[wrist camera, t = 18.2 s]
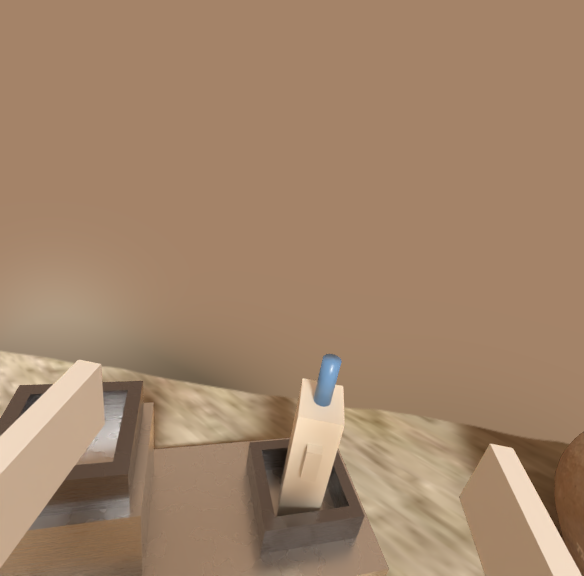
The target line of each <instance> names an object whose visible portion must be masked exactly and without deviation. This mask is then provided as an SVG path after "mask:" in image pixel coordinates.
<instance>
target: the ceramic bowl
mask: <svg viewBox="0 0 584 576" xmlns="http://www.w3.org/2000/svg"><path fill="white" fill-rule="evenodd" d="M554 487H555V504H556V510H557V514H558V519H559V524H560V528H561V532H562V537H563V541H564V543H565V545H566V547H567V549H568V551H569V553H570V555H571V556H572V558H573V560H574V562H575V564H576V566H577V567H578V569H579V571H580V573H581V575H582V576H584V432H583V433H581V434H580V435H579V436H578V437H576V438H575V439H574V440H573V441H572V442H571V444H570V445H569V446H568V447H567V449H566V450H565V451H564V452H563V454H562V456H561V458H560V460H559V463H558V466H557V469H556V472H555V485H554Z"/></svg>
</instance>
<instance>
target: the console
mask: <svg viewBox="0 0 584 576" xmlns="http://www.w3.org/2000/svg"><path fill="white" fill-rule="evenodd" d="M52 385H53V384H44V385H20V386H19V387H18V389H17V391H16V393H15V394H14V396H13V398H12V399H11V401H10V403H9V405H8V406H7V408H6V410H5V411H4V413H3V415H2V417H1V418H0V436H1V435H2V434H3V433H4V432H5V431H6V430H7V429H8V428H9V427H10V426H11V425H12V424H13V423H14V422H15V421H16V420H17V419H18V418H19V417H20V416H21V415H22V414H23V413H24V412H25V411H27V410H28V409H29V408H30V407H31V406H32V405H33V404H34V403H35V402H36V401H37V400H38V399H39V398H40V397H41V396H42V395H43V394H44V393H45V392H46V391H47V390H48V389H49V388H50V387H51V386H52ZM102 386H103V401H104V417H105V425H104V426H103V427H102V429H101V430H100V432H99V433H98V434H97V436H96V437H95V438H94V440H93V441H92V443H91V444H90V445H89V447H88V448H87V449H86V451H85V452H84V454H83V455H82V456H81V458H80V459H79V460H78V462H77V463H76V465H75V466H74V467H73V469H72V470H71V471H70V473H69V474H68V476H67V477H66V478H65V480H64V481H63V483H62V484H61V485H60V487H59V488H58V489H57V491H56V492H55V494H54V495H53V496H52V498H51V499H50V500H49V502H48V503H47V505H46V506H45V507H44V509H43V510H42V511H41V513H40V514H39V516H38V517H37V518H36V520H35V521H34V522H33V524H32V525H31V527H30V528H29V529H28V531H27V532H26V533H25V535H24V536H23V538H22V539H21V540H20V542H19V543H18V544H17V546H16V547H15V549H14V550H13V551H12V553H11V554H10V555H9V557H8V558H7V560H6V561H5V562H4V564H3V565H2V566H1V568H0V576H386V574H387V572H388V570H389V568H388V565H387V563H386V561H385V558H384V556H383V553H382V551H381V549H380V546H379V544H378V542H377V539H376V537H375V534H374V532H373V530H372V527H371V525H370V523H369V520H368V518H367V515H366V513H365V511H364V508H363V506H362V504H361V501H360V499H359V497H358V494H357V492H356V489H355V487H354V485H353V482H352V480H351V478H350V475H349V473H348V470H347V468H346V466H345V463H344V461H343V459H342V456H341V454H340V451H339V449H338V450H337V453H336V457H335V460H334V463H333V467H332V470H331V474H330V477H329V481H328V484H327V487H326V491H325V494H324V498H323V501H322V505H321V508H320V510H319V511H312V512H305V513H298V514H291V515H285V516H278V517H276V515H277V508H278V502H279V495H280V488H281V481H282V474H283V469H284V465H285V460H286V455H287V451H288V446H289V441H290V438H282V439H270V440H258V441H246V442H235V443H223V444H211V445H199V446H187V447H176V448H164V449H154V402H150V403H143V381H129V382H102Z"/></svg>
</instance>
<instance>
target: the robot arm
mask: <svg viewBox="0 0 584 576" xmlns="http://www.w3.org/2000/svg"><path fill="white" fill-rule="evenodd" d="M104 425H105V417H104V401H103V386H102V370H101V364H98V363H93V362H88V361H84V360H78V361H77V362H76V363H75V364H74V365H73V366H72V367H71V368H69V369H68V370H67V371H66V372H65V373H64V374H63V375H62V376H61V377H60V378H59V379H58V380H57V381H56V382H55V383H54V384H53V385H52V386H51V387H50V388H49V389H48V390H47V391H46V392H45V393H44V394H43V395H42V396H41V397H40V398H39V399H38V400H37V401H36V402H35V403H34V404H33V405H32V406H31V407H30V408H29V409H28V410H27V411H25V412H24V413H23V414H22V415H21V416H20V417H19V418H18V419H17V420H16V421H15V422H14V423H13V424H12V425H11V426H10V427H9V428H8V429H7V430H6V431H5V432H4V433H3V434H2V435H1V436H0V568H1V566H2V565H3V564H4V562H5V561H6V560H7V558H8V557H9V555H10V554H11V553H12V551H13V550H14V549H15V547H16V546H17V544H18V543H19V542H20V540H21V539H22V538H23V536H24V535H25V533H26V532H27V531H28V529H29V528H30V527H31V525H32V524H33V522H34V521H35V520H36V518H37V517H38V516H39V514H40V513H41V511H42V510H43V509H44V507H45V506H46V505H47V503H48V502H49V500H50V499H51V498H52V496H53V495H54V494H55V492H56V491H57V489H58V488H59V487H60V485H61V484H62V483H63V481H64V480H65V478H66V477H67V476H68V474H69V473H70V471H71V470H72V469H73V467H74V466H75V465H76V463H77V462H78V460H79V459H80V458H81V456H82V455H83V454H84V452H85V451H86V449H87V448H88V447H89V445H90V444H91V443H92V441H93V440H94V438H95V437H96V436H97V434H98V433H99V432H100V430H101V429H102V427H103V426H104ZM459 498H460V501H461V504H462V507H463V510H464V513H465V516H466V519H467V522H468V525H469V528H470V531H471V534H472V537H473V540H474V543H475V546H476V549H477V552H478V555H479V558H480V561H481V564H482V567H483V570H484V573H485V576H582V575H581V573H580V571H579V569H578V567H577V566H576V564H575V562H574V560H573V558H572V556H571V555H570V553H569V551H568V549H567V547H566V545H565V543H564V542H563V540H562V538H561V536H560V534H559V532H558V531H557V529H556V527H555V525H554V523H553V521H552V519H551V518H550V516H549V514H548V512H547V510H546V508H545V506H544V505H543V503H542V501H541V499H540V497H539V495H538V494H537V492H536V490H535V488H534V486H533V484H532V482H531V481H530V479H529V477H528V475H527V473H526V471H525V470H524V468H523V466H522V464H521V462H520V460H519V458H518V457H517V455H516V453H515V451H514V449H513V448H510V447H505V446H500V445H495V444H489V446H488V448H487V449H486V451H485V453H484V455H483V456H482V458H481V460H480V462H479V463H478V465H477V467H476V469H475V470H474V472H473V474H472V475H471V477H470V479H469V481H468V482H467V484H466V486H465V488H464V489H463V491H462V493H461V495H460V496H459Z"/></svg>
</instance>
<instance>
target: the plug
mask: <svg viewBox="0 0 584 576" xmlns="http://www.w3.org/2000/svg"><path fill="white" fill-rule="evenodd" d="M340 365H341V359H340V358H339V357H338V356H336V355H333V354H326V355H324V356H323V360H322V364H321V369H320V373H319V377H318V381H314V380H309V379H303V380H302V385H301V389H300V394H299V398H298V403H297V408H296V413H295V417H294V422H293V427H292V432H291V436H290V441H289V446H288V451H287V455H286V460H285V465H284V469H283V474H282V481H281V488H280V495H279V502H278V508H277V515H276V517H278V516H285V515H291V514H298V513H305V512H312V511H319V510H320V508H321V505H322V501H323V498H324V494H325V491H326V487H327V484H328V481H329V477H330V474H331V470H332V467H333V463H334V460H335V457H336V453H337V450H338V446H339V443H340V439H341V436H342V432H343V429H344V426H345V425H344V395H343V386H340V385H335V384H336V380H337V377H338V373H339V369H340Z"/></svg>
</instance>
